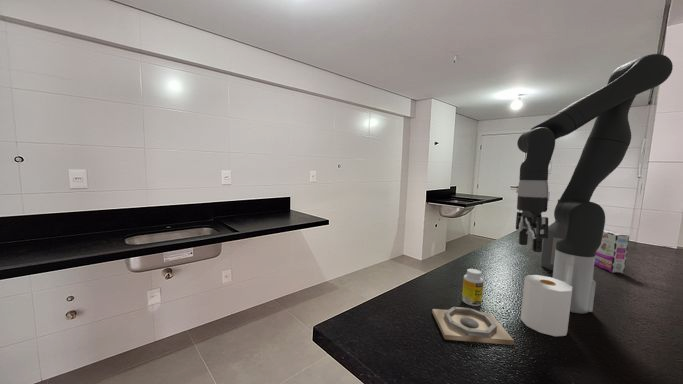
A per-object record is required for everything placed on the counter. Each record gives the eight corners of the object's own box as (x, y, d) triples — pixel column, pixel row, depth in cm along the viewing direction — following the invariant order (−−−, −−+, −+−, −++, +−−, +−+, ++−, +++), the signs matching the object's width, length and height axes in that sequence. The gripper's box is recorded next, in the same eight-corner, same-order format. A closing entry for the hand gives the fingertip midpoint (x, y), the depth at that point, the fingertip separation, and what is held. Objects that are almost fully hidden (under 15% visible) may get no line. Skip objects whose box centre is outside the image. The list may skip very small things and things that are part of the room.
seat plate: (490, 317, 76) (490, 308, 76) (513, 344, 64) (514, 335, 64) (432, 312, 77) (432, 304, 77) (444, 339, 65) (445, 330, 65)
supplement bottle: (475, 308, 80) (477, 275, 79) (458, 300, 85) (460, 269, 84) (485, 304, 83) (487, 272, 82) (468, 296, 88) (470, 266, 87)
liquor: (575, 273, 111) (584, 201, 108) (553, 272, 111) (561, 200, 108) (558, 265, 120) (565, 198, 117) (537, 264, 120) (544, 198, 117)
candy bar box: (625, 274, 112) (630, 235, 110) (611, 273, 112) (616, 234, 111) (603, 264, 123) (607, 229, 121) (591, 263, 124) (595, 228, 122)
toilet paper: (571, 342, 66) (577, 294, 65) (521, 327, 71) (525, 283, 70) (564, 322, 74) (569, 280, 73) (519, 310, 80) (523, 271, 79)
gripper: (560, 197, 74) (557, 255, 74) (534, 194, 88) (531, 243, 88) (530, 196, 75) (527, 253, 76) (508, 193, 89) (506, 242, 90)
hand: (529, 248), depth 82 cm, fingers open, 8 cm apart
